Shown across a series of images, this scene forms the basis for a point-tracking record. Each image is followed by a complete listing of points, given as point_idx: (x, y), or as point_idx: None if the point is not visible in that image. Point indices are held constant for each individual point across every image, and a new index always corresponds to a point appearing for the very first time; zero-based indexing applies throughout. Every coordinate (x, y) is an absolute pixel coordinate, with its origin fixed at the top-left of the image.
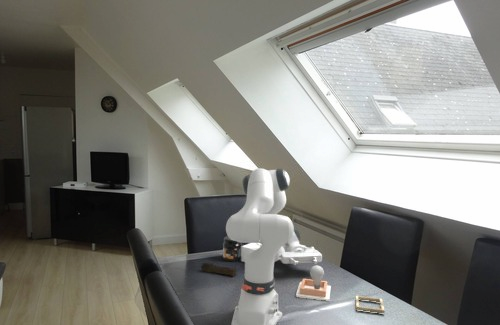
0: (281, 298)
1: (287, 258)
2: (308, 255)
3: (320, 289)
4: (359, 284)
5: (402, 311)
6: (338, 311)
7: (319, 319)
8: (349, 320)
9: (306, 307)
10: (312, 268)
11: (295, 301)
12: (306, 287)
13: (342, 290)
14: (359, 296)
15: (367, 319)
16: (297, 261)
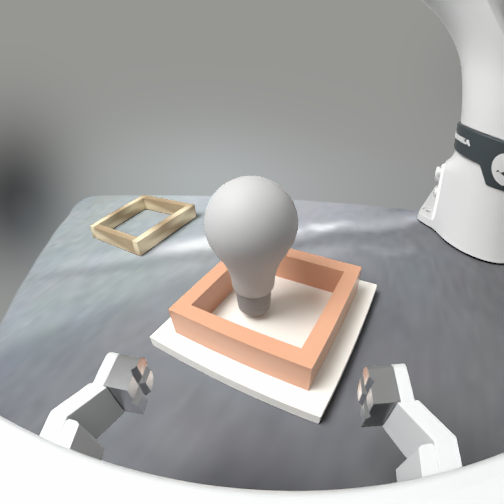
0: (433, 290)
1: (492, 459)
2: (115, 477)
3: (232, 313)
4: (19, 337)
5: (95, 213)
6: None
7: (320, 203)
8: None
9: (344, 239)
10: (285, 192)
11: (379, 269)
12: (302, 342)
13: (122, 314)
14: (132, 238)
15: (198, 197)
16: (370, 369)
